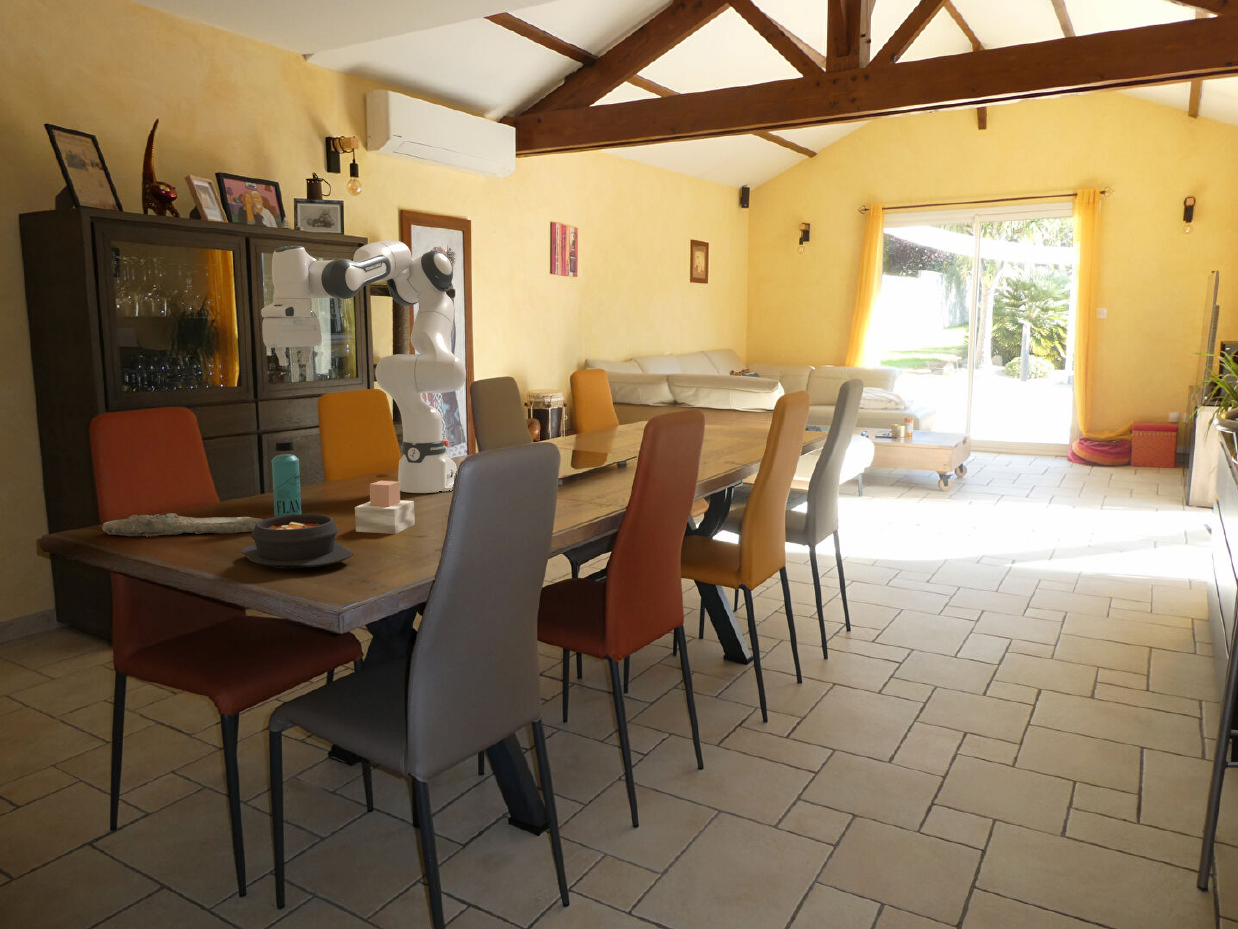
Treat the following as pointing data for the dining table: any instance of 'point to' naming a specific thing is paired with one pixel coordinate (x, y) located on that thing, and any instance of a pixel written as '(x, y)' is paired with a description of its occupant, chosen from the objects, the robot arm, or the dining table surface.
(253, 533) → the casserole
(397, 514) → the base block
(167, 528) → the long grey stone
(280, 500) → the beverage bottle
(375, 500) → the terracotta block
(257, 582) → the dining table surface
